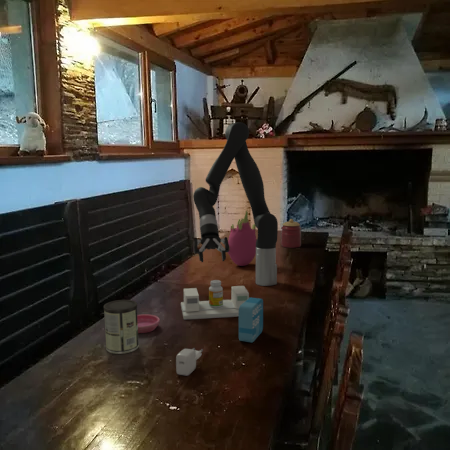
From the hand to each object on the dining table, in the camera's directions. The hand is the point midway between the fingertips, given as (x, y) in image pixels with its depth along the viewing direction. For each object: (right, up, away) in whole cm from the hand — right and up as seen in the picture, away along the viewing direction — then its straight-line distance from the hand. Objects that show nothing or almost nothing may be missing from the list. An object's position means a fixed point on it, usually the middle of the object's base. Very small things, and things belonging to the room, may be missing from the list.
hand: (213, 260), depth 193 cm
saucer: (-24, -22, -23) cm, 40 cm away
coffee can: (-28, -25, -40) cm, 54 cm away
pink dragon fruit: (+14, -8, +67) cm, 69 cm away
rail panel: (+1, -19, -5) cm, 20 cm away
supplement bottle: (+1, -17, -5) cm, 18 cm away
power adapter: (-5, -27, -54) cm, 61 cm away
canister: (+47, +1, +119) cm, 128 cm away
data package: (+13, -23, -31) cm, 41 cm away
